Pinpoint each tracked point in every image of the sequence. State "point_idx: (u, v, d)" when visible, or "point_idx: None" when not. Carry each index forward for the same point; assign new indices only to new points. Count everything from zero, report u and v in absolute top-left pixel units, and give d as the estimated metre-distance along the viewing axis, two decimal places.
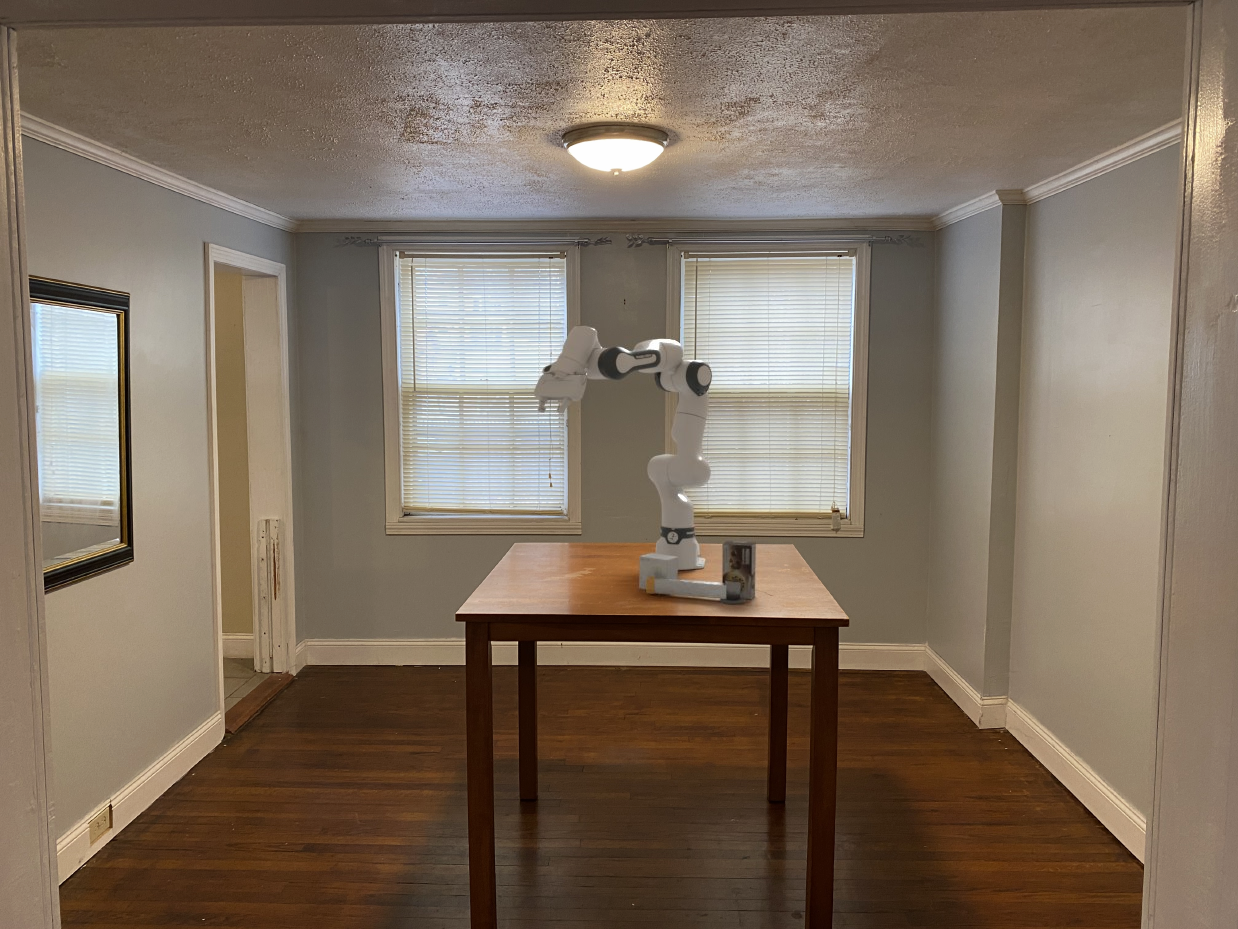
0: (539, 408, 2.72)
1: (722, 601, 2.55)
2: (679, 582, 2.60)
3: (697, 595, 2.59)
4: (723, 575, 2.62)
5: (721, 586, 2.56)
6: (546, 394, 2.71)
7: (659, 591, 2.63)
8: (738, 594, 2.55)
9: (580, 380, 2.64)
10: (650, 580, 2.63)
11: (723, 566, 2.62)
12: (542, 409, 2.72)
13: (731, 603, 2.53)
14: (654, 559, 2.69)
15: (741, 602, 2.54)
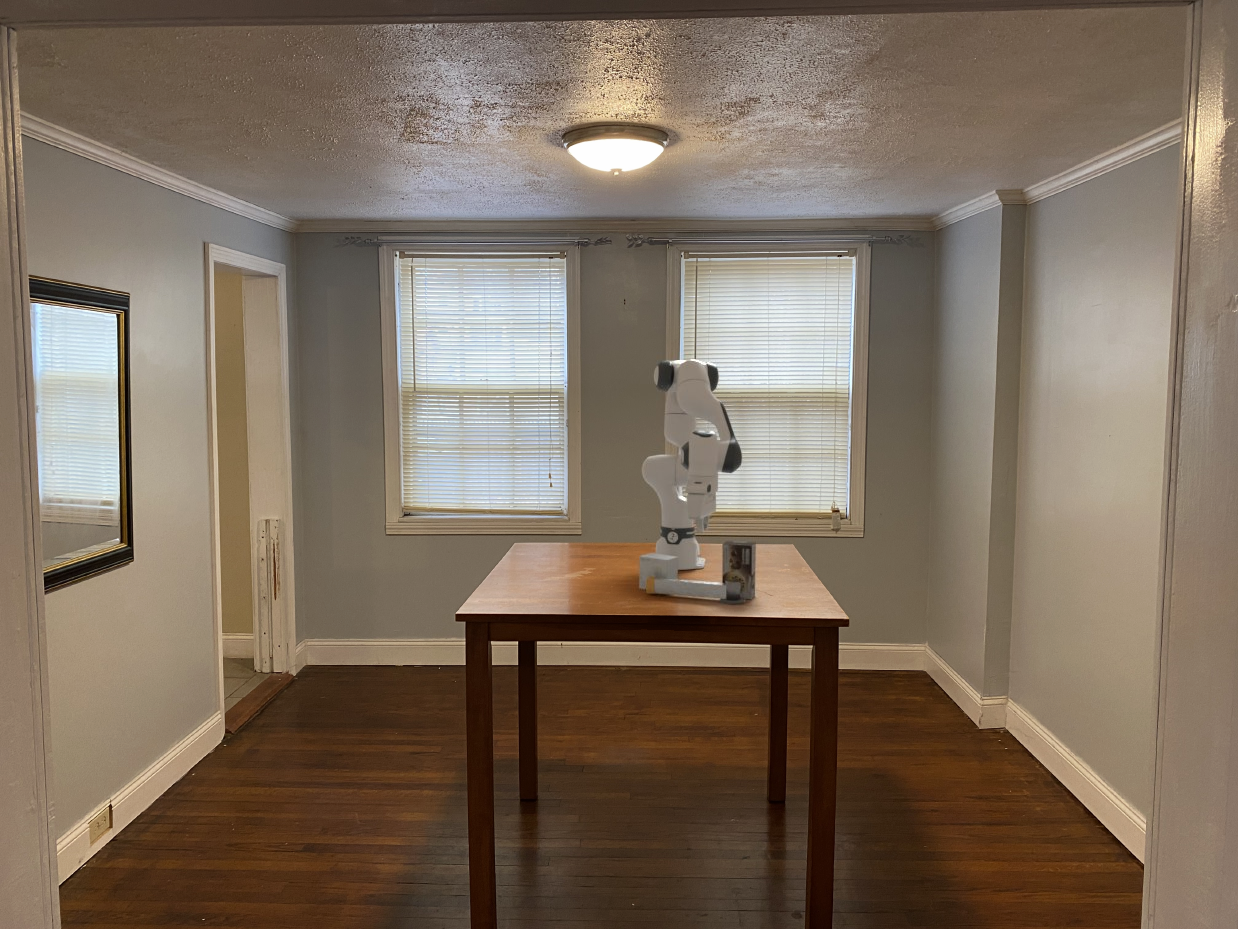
0: (703, 530, 2.62)
1: (722, 601, 2.55)
2: (679, 582, 2.60)
3: (697, 595, 2.59)
4: (723, 575, 2.62)
5: (721, 586, 2.56)
6: (705, 515, 2.61)
7: (659, 591, 2.63)
8: (738, 594, 2.55)
9: None
10: (650, 580, 2.63)
11: (723, 566, 2.62)
12: None
13: (731, 603, 2.53)
14: (654, 559, 2.69)
15: (741, 602, 2.54)
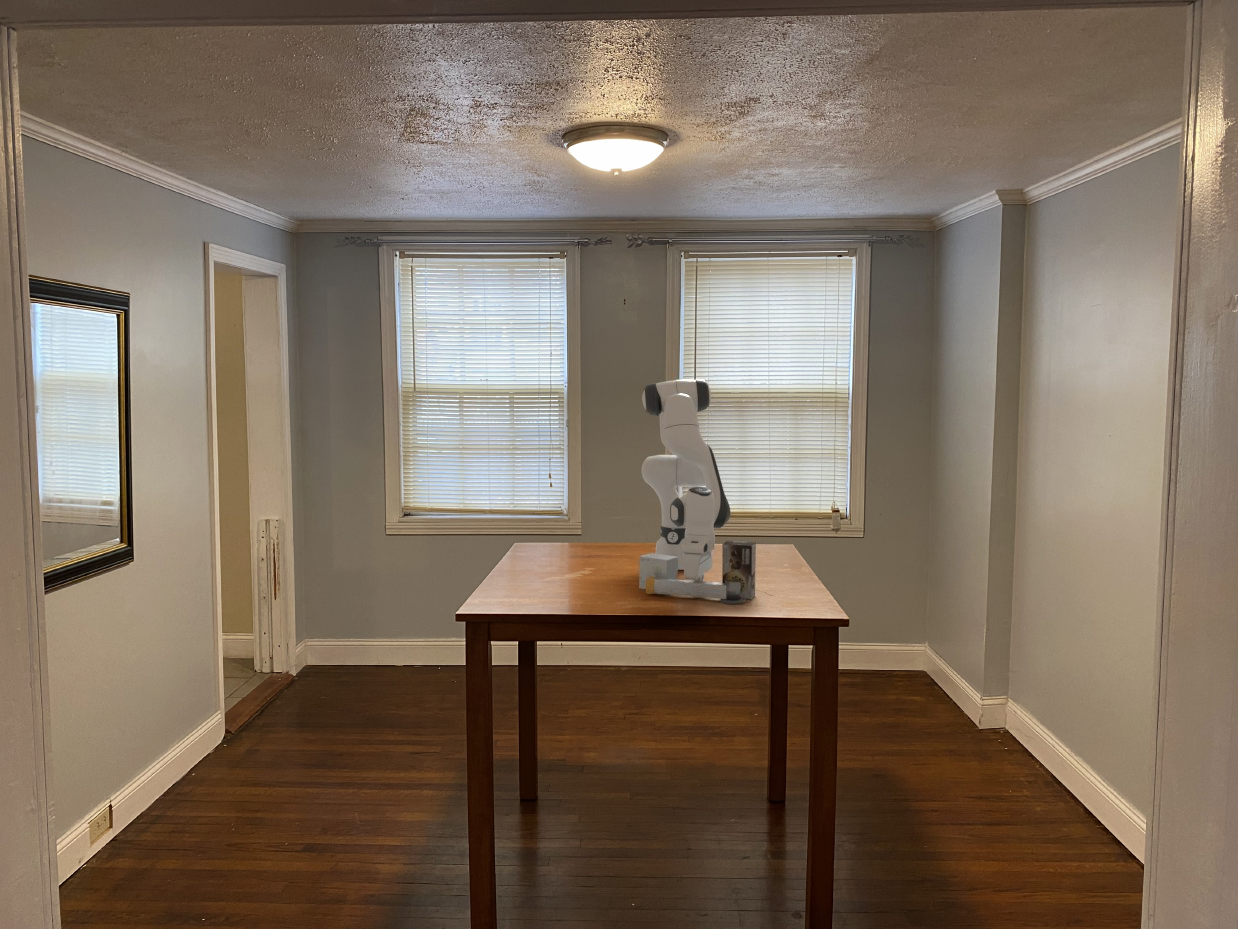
0: None
1: (722, 601, 2.55)
2: (679, 582, 2.60)
3: (697, 595, 2.58)
4: (723, 575, 2.62)
5: (721, 586, 2.56)
6: (702, 574, 2.59)
7: (659, 591, 2.62)
8: (738, 594, 2.55)
9: None
10: (650, 580, 2.63)
11: (723, 566, 2.62)
12: None
13: (731, 603, 2.53)
14: (654, 559, 2.69)
15: (741, 602, 2.54)
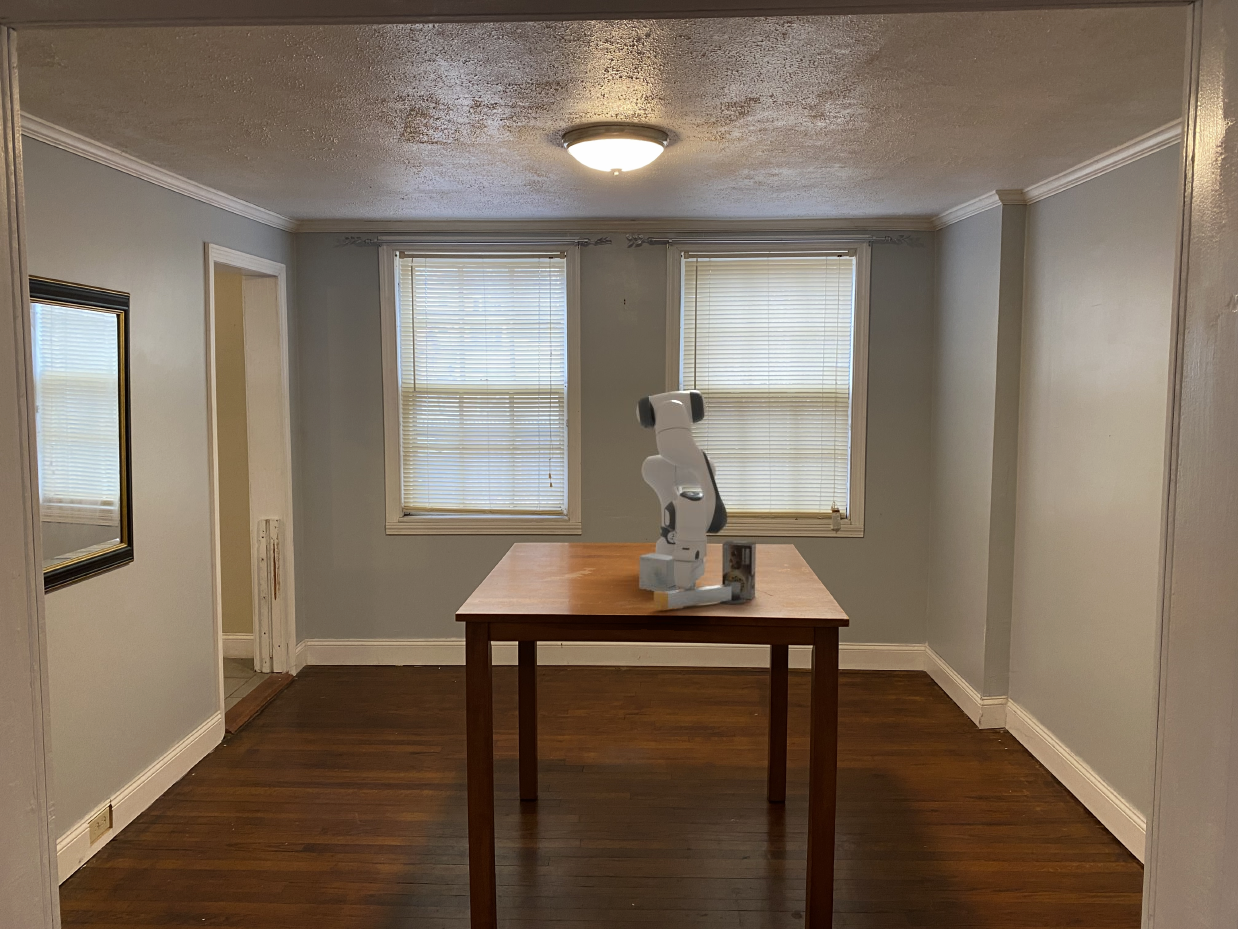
0: None
1: (722, 601, 2.55)
2: (690, 592, 2.48)
3: (706, 602, 2.50)
4: (723, 575, 2.62)
5: (727, 588, 2.54)
6: (693, 582, 2.50)
7: (672, 605, 2.45)
8: None
9: None
10: (664, 595, 2.43)
11: (723, 566, 2.62)
12: None
13: (731, 603, 2.53)
14: (654, 559, 2.69)
15: (741, 602, 2.54)
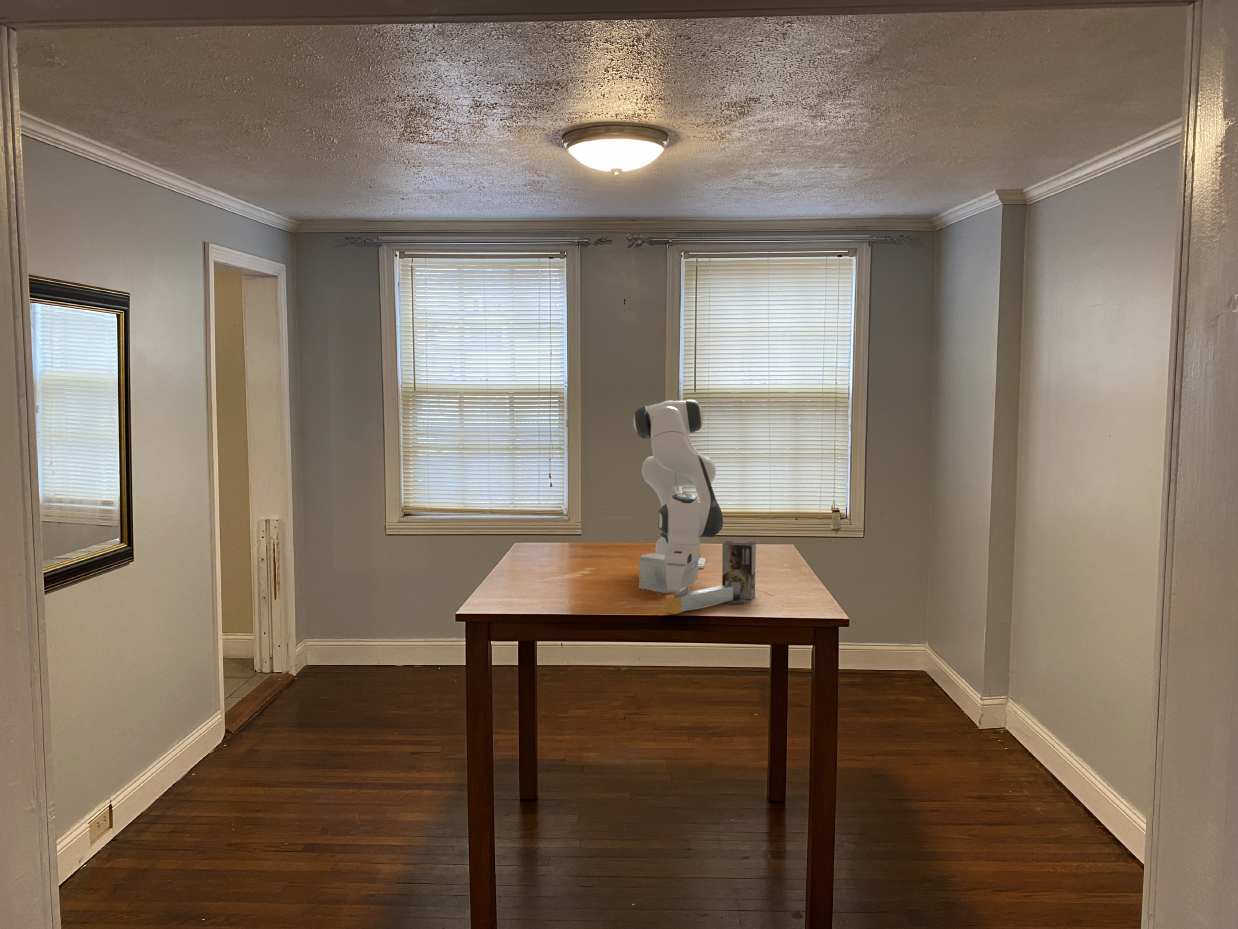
0: None
1: None
2: (699, 594, 2.45)
3: (713, 603, 2.49)
4: (723, 575, 2.62)
5: (729, 588, 2.53)
6: (686, 586, 2.44)
7: (684, 608, 2.41)
8: None
9: None
10: (678, 599, 2.39)
11: (723, 566, 2.62)
12: None
13: (731, 603, 2.53)
14: (654, 559, 2.69)
15: (741, 602, 2.54)
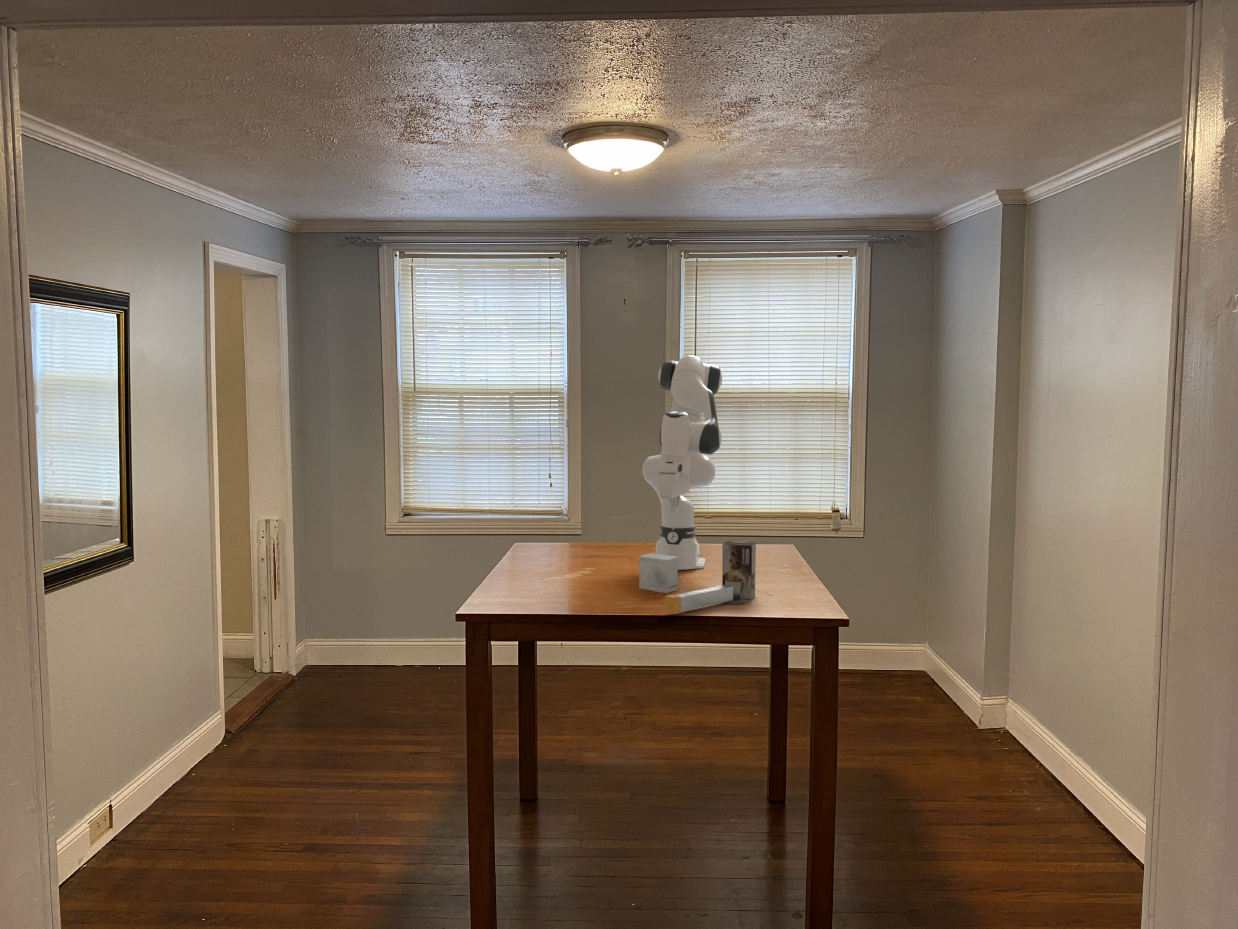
0: (676, 508, 2.68)
1: None
2: (699, 594, 2.45)
3: (713, 603, 2.49)
4: (723, 575, 2.62)
5: (729, 588, 2.53)
6: (677, 495, 2.65)
7: (684, 608, 2.41)
8: None
9: None
10: (678, 599, 2.39)
11: (723, 566, 2.62)
12: None
13: (731, 603, 2.53)
14: (654, 559, 2.69)
15: (741, 602, 2.54)
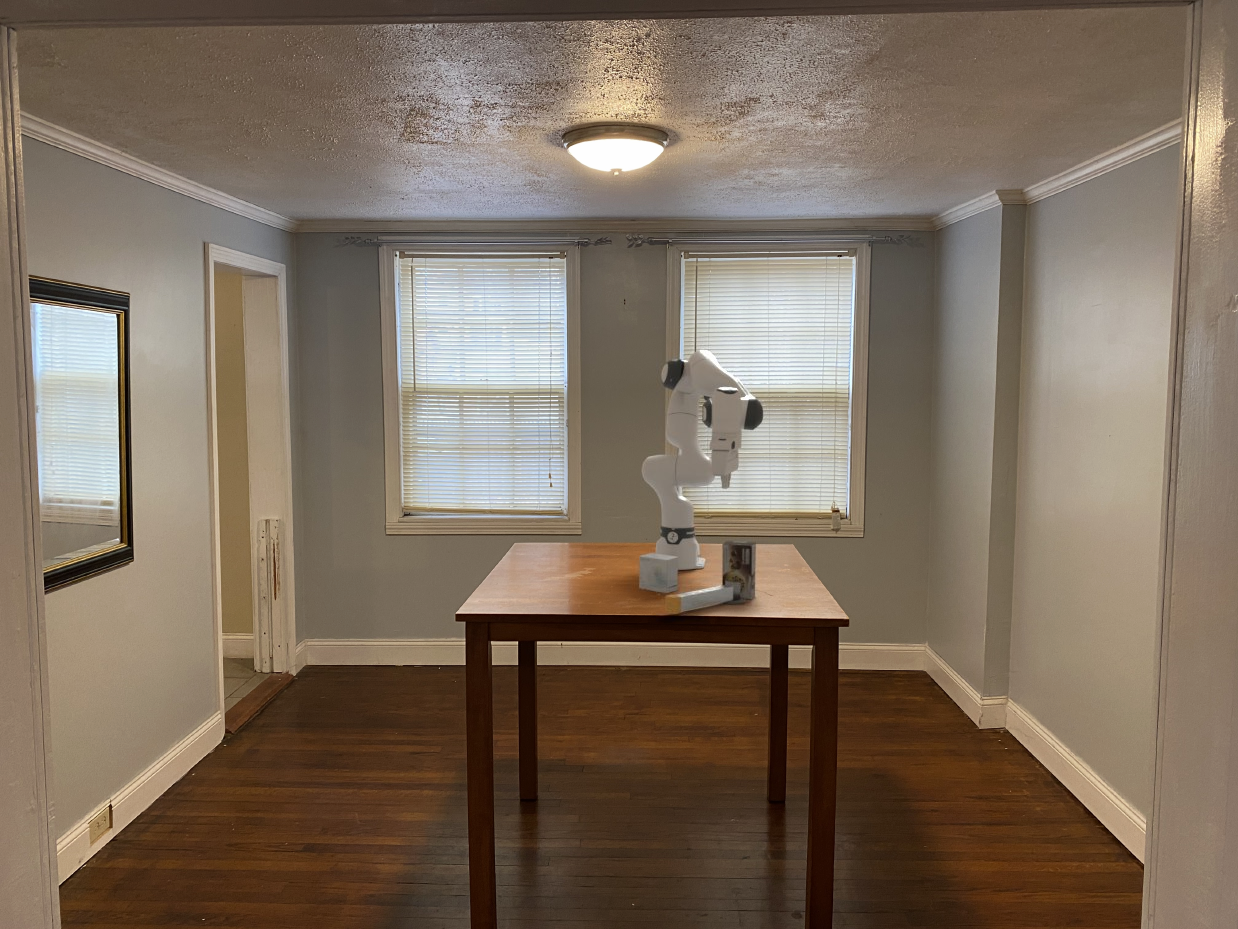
0: (728, 486, 2.65)
1: None
2: (699, 594, 2.45)
3: (713, 603, 2.49)
4: (723, 575, 2.62)
5: (729, 588, 2.53)
6: (729, 472, 2.62)
7: (684, 608, 2.41)
8: None
9: None
10: (678, 599, 2.39)
11: (723, 566, 2.62)
12: None
13: (731, 603, 2.53)
14: (654, 559, 2.69)
15: (741, 602, 2.54)
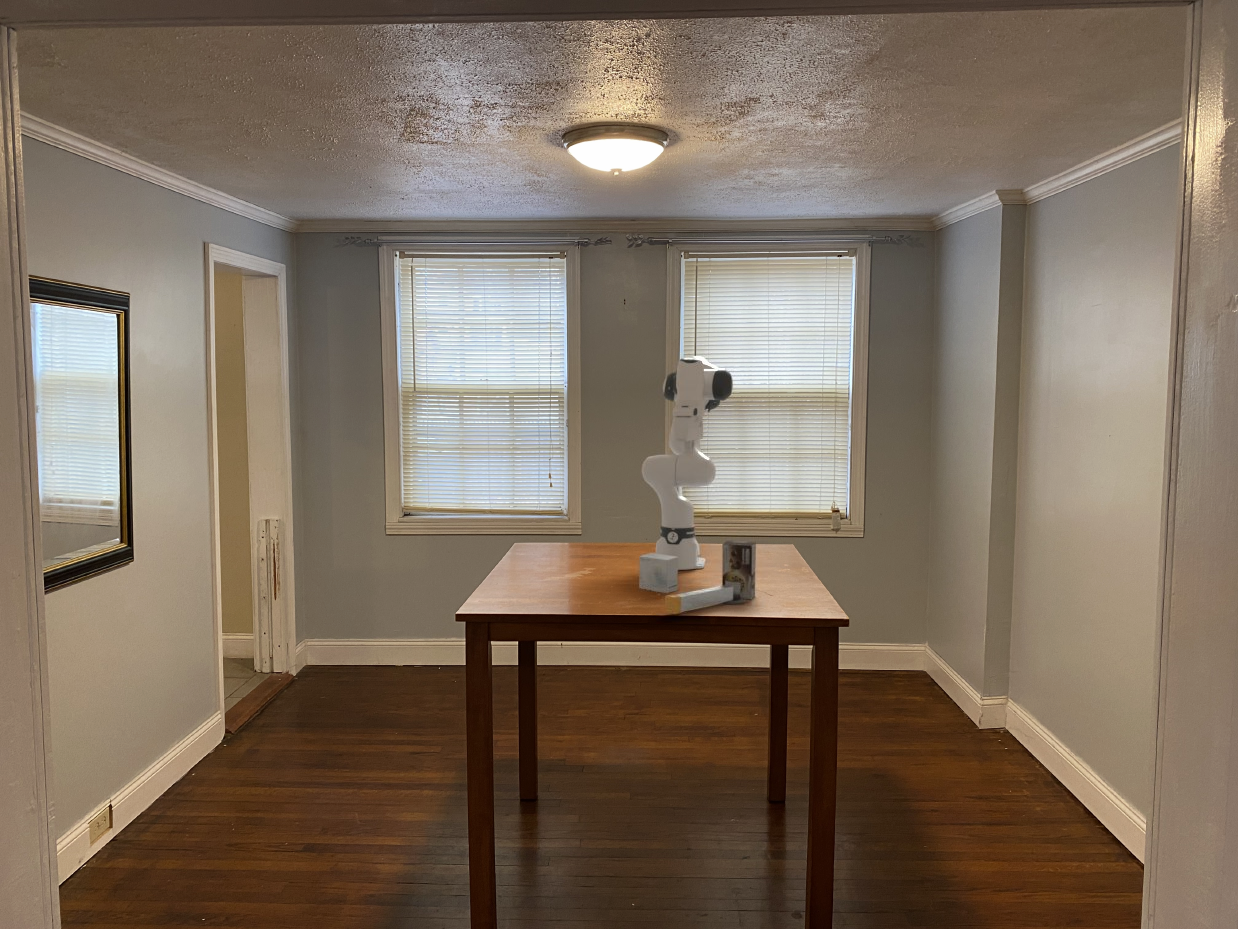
0: (691, 453, 2.74)
1: None
2: (699, 594, 2.45)
3: (713, 603, 2.49)
4: (723, 575, 2.62)
5: (729, 588, 2.53)
6: (692, 439, 2.71)
7: (684, 608, 2.41)
8: None
9: None
10: (678, 599, 2.39)
11: (723, 566, 2.62)
12: None
13: (731, 603, 2.53)
14: (654, 559, 2.69)
15: (741, 602, 2.54)
